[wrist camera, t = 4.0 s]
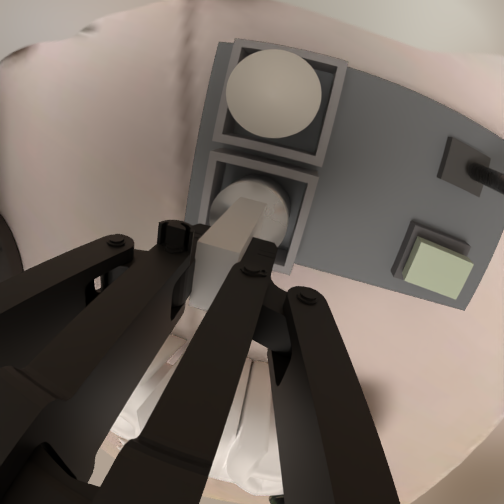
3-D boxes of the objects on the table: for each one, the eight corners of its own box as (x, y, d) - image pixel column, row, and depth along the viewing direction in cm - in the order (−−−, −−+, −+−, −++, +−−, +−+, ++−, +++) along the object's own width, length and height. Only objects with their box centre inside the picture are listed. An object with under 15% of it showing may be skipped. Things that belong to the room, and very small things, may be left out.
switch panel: (196, 220, 24) (168, 245, 20) (230, 51, 18) (206, 31, 13) (452, 292, 23) (475, 328, 18) (506, 150, 17) (545, 161, 12)
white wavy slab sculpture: (403, 390, 28) (417, 466, 19) (341, 453, 36) (339, 512, 26) (111, 300, 30) (54, 359, 21) (117, 385, 38) (83, 436, 28)
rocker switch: (401, 272, 18) (404, 280, 17) (417, 236, 17) (421, 242, 16) (451, 291, 18) (456, 299, 17) (468, 257, 16) (474, 264, 15)
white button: (232, 127, 16) (217, 127, 13) (249, 56, 14) (236, 42, 11) (308, 145, 16) (309, 148, 13) (326, 72, 14) (330, 61, 11)
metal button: (218, 229, 20) (203, 246, 18) (230, 166, 18) (216, 174, 16) (281, 247, 20) (276, 266, 17) (298, 183, 18) (296, 194, 15)
